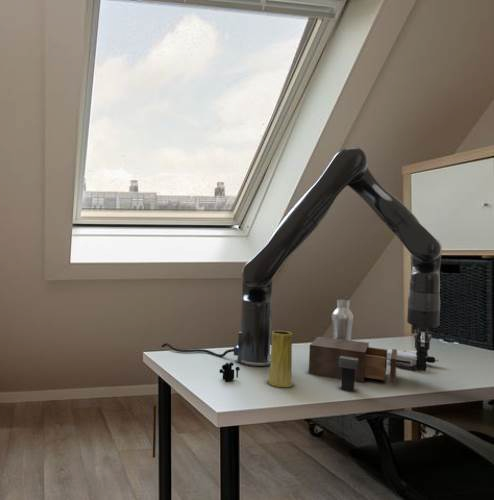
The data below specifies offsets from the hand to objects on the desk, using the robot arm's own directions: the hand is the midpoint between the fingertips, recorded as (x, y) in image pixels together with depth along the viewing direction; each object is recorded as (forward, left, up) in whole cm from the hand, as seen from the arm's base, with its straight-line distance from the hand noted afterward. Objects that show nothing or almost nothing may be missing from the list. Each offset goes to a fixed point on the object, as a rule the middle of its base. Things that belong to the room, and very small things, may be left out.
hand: (421, 369), depth 132 cm
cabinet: (-21, 0, -4) cm, 21 cm away
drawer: (-10, 0, -3) cm, 11 cm away
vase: (-33, -23, -4) cm, 40 cm away
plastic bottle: (-22, +15, -4) cm, 27 cm away
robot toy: (-3, +23, -4) cm, 24 cm away
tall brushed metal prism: (-17, -17, -4) cm, 24 cm away
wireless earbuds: (-46, -28, -4) cm, 54 cm away
